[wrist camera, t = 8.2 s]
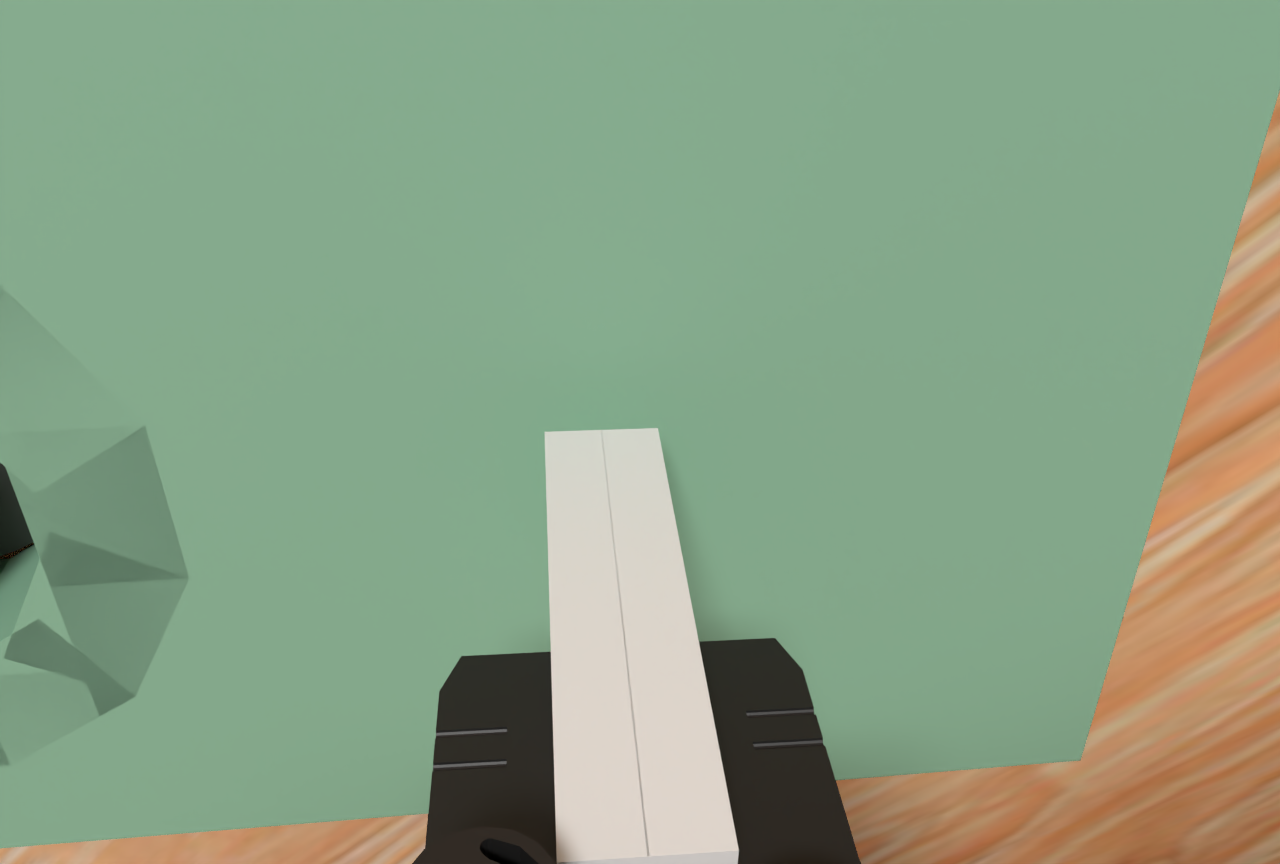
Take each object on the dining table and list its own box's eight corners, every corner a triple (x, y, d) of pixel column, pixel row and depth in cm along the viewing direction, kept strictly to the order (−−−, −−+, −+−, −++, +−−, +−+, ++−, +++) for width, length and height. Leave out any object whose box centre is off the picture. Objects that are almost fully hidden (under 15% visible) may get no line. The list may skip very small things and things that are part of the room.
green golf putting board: (-806, -37, 14) (-1463, 72, 9) (1190, -81, 16) (1466, -9, 11) (-293, 745, 21) (-516, 1019, 17) (1019, 649, 23) (1142, 871, 19)
